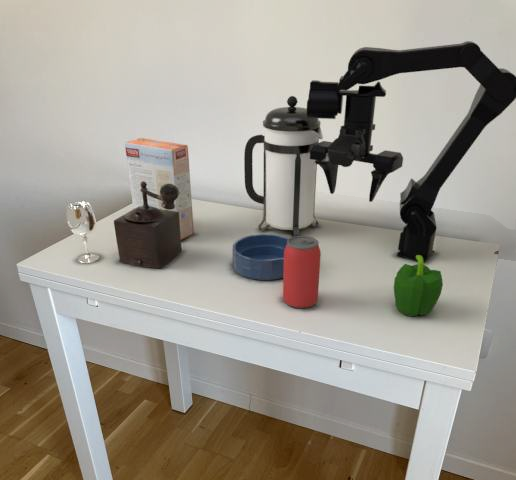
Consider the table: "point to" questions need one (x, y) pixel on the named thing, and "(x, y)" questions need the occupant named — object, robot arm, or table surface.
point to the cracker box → (161, 176)
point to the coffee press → (286, 168)
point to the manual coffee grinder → (150, 231)
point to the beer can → (301, 271)
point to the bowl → (260, 256)
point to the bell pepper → (417, 288)
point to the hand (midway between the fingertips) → (351, 197)
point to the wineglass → (82, 225)
